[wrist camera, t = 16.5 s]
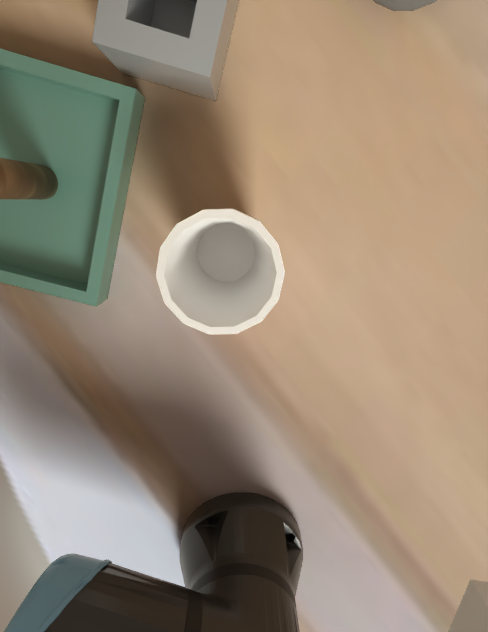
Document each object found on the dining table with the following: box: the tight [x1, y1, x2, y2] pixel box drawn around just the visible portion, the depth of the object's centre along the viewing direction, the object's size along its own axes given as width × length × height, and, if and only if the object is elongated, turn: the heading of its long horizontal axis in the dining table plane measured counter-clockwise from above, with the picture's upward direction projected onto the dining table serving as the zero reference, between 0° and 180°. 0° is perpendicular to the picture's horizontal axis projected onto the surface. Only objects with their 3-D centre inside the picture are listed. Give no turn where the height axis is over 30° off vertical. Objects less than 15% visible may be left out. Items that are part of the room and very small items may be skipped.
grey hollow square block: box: [92, 0, 239, 101], centre depth 34 cm, size 9×9×8 cm
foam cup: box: [156, 208, 285, 335], centre depth 37 cm, size 10×9×13 cm
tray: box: [0, 49, 145, 307], centre depth 40 cm, size 20×16×4 cm
